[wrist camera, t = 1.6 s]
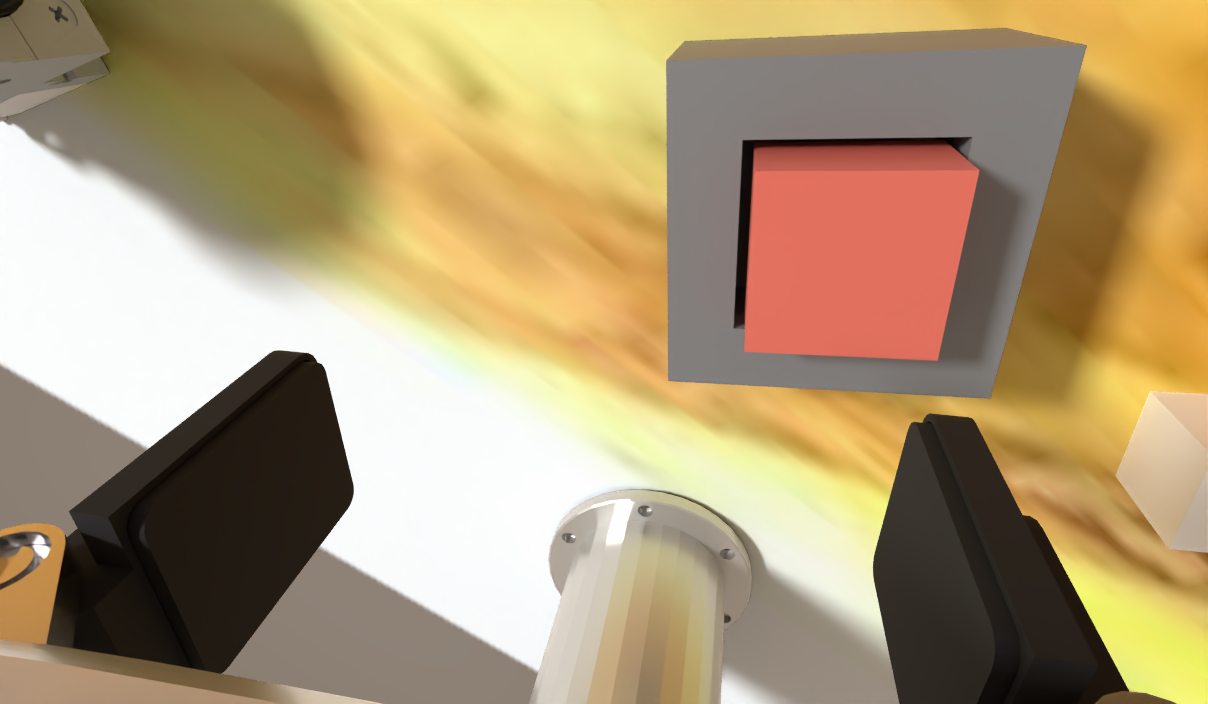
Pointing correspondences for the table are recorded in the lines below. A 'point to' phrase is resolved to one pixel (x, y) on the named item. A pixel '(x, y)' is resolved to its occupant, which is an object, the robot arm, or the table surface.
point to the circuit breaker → (46, 52)
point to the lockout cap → (1171, 468)
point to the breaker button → (854, 246)
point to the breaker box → (858, 113)
